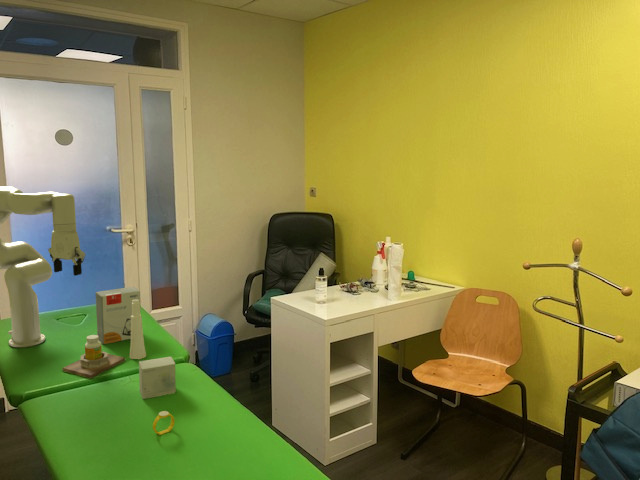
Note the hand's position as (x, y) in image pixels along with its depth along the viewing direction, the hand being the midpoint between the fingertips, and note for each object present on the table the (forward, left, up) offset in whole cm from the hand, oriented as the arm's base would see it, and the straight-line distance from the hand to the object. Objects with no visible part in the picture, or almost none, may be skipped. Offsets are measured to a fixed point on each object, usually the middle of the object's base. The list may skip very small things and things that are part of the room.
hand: (67, 273), depth 195 cm
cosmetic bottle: (+26, +6, -31) cm, 41 cm away
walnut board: (+18, -7, -30) cm, 36 cm away
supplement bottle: (+18, -7, -29) cm, 35 cm away
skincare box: (+51, -13, -31) cm, 61 cm away
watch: (+68, -31, -31) cm, 81 cm away
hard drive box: (+7, +17, -31) cm, 36 cm away
